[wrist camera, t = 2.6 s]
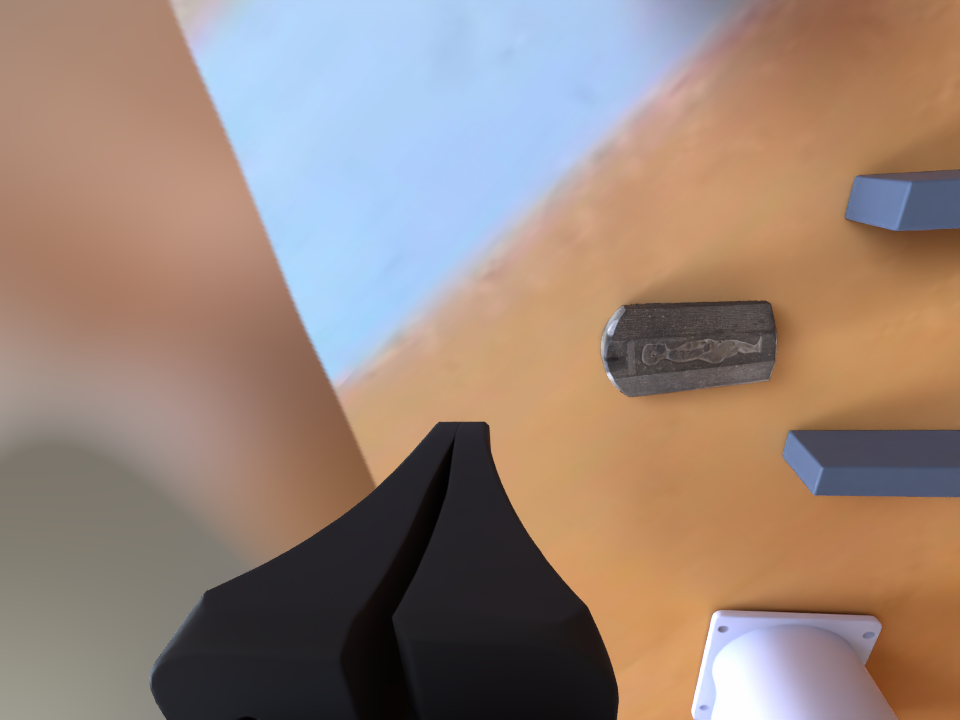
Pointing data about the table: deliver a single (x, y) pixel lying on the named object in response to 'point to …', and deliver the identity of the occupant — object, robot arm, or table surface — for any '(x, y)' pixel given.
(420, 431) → the table surface
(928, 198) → the bay
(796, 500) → the table surface
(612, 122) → the table surface
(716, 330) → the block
